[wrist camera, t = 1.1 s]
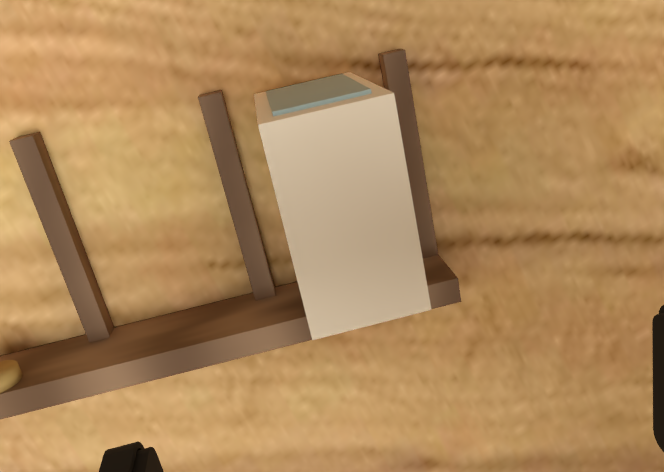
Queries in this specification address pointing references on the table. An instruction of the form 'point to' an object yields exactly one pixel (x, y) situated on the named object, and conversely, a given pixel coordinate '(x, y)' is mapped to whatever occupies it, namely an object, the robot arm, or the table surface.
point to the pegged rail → (199, 322)
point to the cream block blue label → (344, 201)
